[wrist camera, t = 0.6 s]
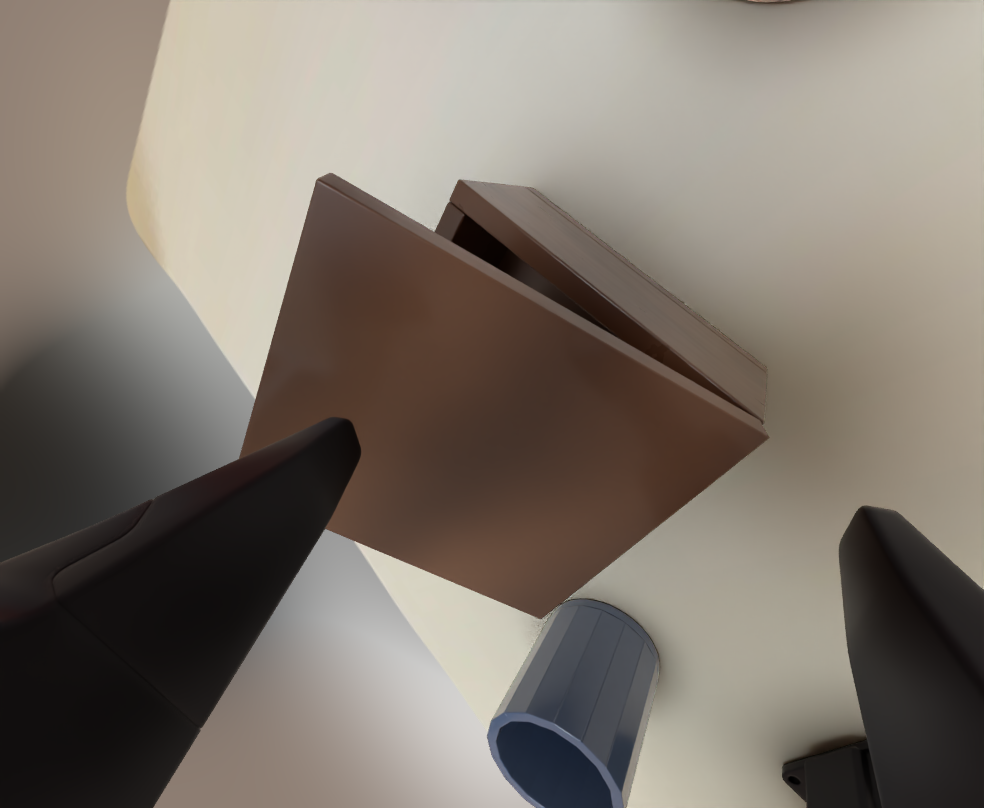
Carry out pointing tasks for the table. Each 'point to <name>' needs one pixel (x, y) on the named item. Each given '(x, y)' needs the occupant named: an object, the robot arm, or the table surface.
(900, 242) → the table surface
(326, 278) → the box lid
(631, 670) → the cup
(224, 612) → the robot arm
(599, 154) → the table surface
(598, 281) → the box
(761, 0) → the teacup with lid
